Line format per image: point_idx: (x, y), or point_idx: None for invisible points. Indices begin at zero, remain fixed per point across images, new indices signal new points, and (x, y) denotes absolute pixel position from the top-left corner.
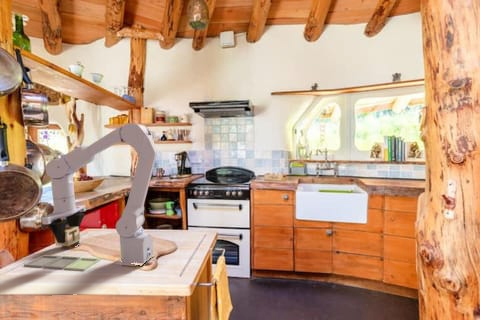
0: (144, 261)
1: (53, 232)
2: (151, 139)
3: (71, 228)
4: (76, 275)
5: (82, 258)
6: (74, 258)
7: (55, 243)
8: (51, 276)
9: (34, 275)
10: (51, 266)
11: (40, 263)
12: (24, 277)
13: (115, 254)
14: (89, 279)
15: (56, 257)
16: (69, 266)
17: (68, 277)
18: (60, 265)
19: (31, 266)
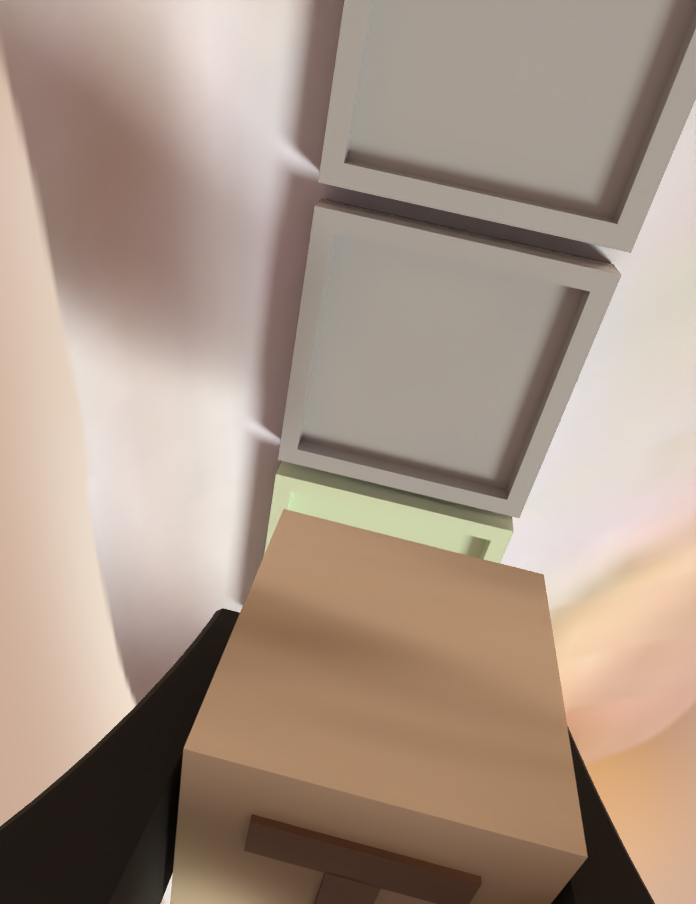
0: None
1: (71, 781)
2: None
3: None
4: (202, 584)
5: (490, 540)
6: (523, 451)
7: (275, 531)
8: (165, 402)
9: (163, 198)
10: (298, 322)
11: (456, 31)
12: (106, 99)
13: (582, 725)
14: (160, 675)
15: (632, 173)
16: (320, 492)
17: (167, 545)
18: (363, 379)
19: None
